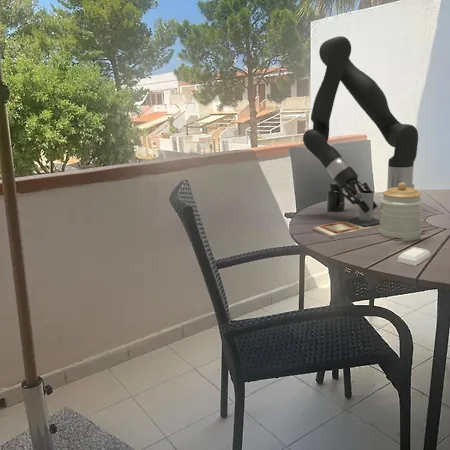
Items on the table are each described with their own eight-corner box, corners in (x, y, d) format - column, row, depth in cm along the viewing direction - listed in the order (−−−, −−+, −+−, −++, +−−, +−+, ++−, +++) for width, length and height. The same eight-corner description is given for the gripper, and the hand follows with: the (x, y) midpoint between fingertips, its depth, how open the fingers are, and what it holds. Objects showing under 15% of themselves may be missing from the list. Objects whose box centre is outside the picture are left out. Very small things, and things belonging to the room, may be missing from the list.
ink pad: (367, 218, 159) (367, 216, 159) (385, 223, 151) (385, 221, 151) (347, 221, 156) (347, 219, 156) (364, 227, 148) (365, 225, 148)
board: (371, 219, 162) (371, 214, 161) (393, 226, 152) (393, 221, 151) (312, 230, 152) (312, 225, 152) (331, 238, 142) (331, 233, 142)
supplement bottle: (345, 214, 170) (345, 184, 167) (327, 214, 172) (327, 185, 169) (344, 210, 177) (344, 181, 174) (326, 210, 178) (327, 181, 175)
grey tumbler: (357, 218, 156) (358, 190, 153) (369, 218, 156) (370, 189, 153) (362, 222, 151) (363, 193, 149) (374, 221, 152) (376, 192, 149)
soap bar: (397, 263, 120) (398, 254, 119) (412, 254, 126) (412, 245, 125) (415, 267, 116) (415, 258, 116) (429, 258, 122) (430, 249, 121)
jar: (417, 244, 133) (421, 187, 128) (374, 239, 140) (376, 185, 135) (424, 232, 143) (427, 179, 139) (383, 228, 150) (385, 178, 145)
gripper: (337, 168, 149) (368, 207, 144) (359, 163, 159) (389, 199, 153) (324, 182, 155) (353, 220, 149) (346, 176, 164) (374, 211, 158)
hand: (371, 209), depth 151 cm, fingers closed on grey tumbler, 4 cm apart
